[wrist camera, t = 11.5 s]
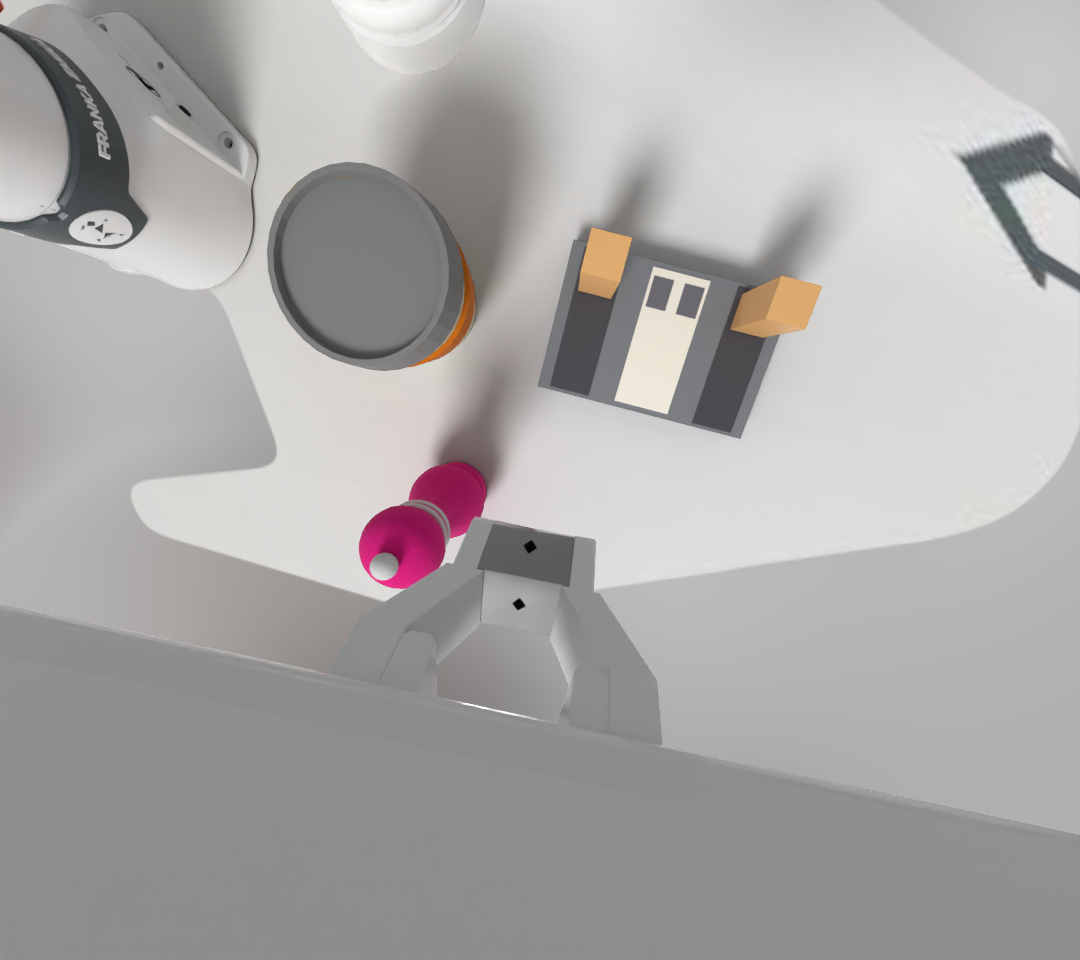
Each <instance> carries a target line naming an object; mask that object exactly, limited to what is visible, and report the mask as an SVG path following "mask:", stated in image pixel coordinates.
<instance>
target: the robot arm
mask: <svg viewBox="0 0 1080 960" xmlns="http://www.w3.org/2000/svg"><path fill="white" fill-rule="evenodd" d="M3 9H4V6H3V4H2V2H1V1H0V12H1V11H2V10H3ZM232 142H233V146H232V147H231V148H230V144H231V143H232ZM256 165H257V157H256V153H255V151H254V149H253V148H252V146H251V145H250V144H249V143H248V142H247V141H246V140H245V138H244V137H243V136H242V135H241V134H240V133H239V132H238V131H237V130H236V129H235V127H234V126H233V125H232V124H231V123H230V122H229V121H228V120H227V119H226V117H225V116H224V115H223V114H222V113H221V112H220V111H219V110H218V109H217V108H216V106H215V105H214V104H213V103H212V102H211V101H210V100H209V99H208V98H207V96H206V95H205V94H204V93H203V92H202V91H201V90H200V89H199V88H198V87H197V85H196V84H195V83H194V82H193V81H192V80H191V79H190V78H189V77H188V75H187V74H186V73H185V72H184V71H183V70H182V69H181V68H180V67H179V66H178V64H177V63H176V62H175V61H174V60H173V59H172V58H171V57H170V56H169V54H168V53H167V52H166V51H165V50H164V49H163V48H162V47H161V46H160V45H159V43H158V42H157V41H156V40H155V39H154V38H153V37H152V36H151V35H150V34H149V32H148V31H147V30H146V29H145V28H144V27H143V26H142V25H141V24H140V23H139V22H138V21H137V20H135V19H134V18H132V17H131V16H129V15H128V14H126V13H123V12H110V13H105V14H101V15H97V16H95V17H92V18H90V19H87V18H86V17H84V16H83V15H81V14H80V13H78V12H76V11H75V10H73V9H71V8H69V7H66V6H63V5H57V4H46V5H42V6H38V7H35V8H33V9H31V10H28V11H27V12H25V13H23V14H22V15H20V16H19V17H18V18H16V19H15V20H14V21H13V22H12V23H11V24H10V25H9V26H8V27H7V26H4V25H1V24H0V228H3V229H7V231H10V232H13V233H16V234H20V235H23V236H25V235H27V236H31V237H34V238H38V239H42V240H46V241H50V242H53V243H56V244H59V245H61V246H64V247H67V248H70V249H73V250H76V251H79V252H81V253H84V254H87V255H90V256H93V257H96V258H99V259H102V260H105V261H106V262H107V264H108V265H109V266H110V267H112V268H113V269H116V270H119V271H121V272H125V273H128V274H142V275H143V274H145V275H149V276H151V277H154V278H156V279H158V280H160V281H163V282H165V283H167V284H169V285H172V286H175V287H179V288H183V289H191V290H198V289H206V288H210V287H213V286H216V285H218V284H220V283H222V282H223V281H225V280H226V279H228V278H229V277H230V276H231V275H232V274H233V273H234V272H235V271H236V270H237V269H238V268H239V266H240V265H241V263H242V261H243V260H244V258H245V256H246V254H247V251H248V248H249V245H250V241H251V237H252V229H253V212H252V202H251V186H252V183H253V179H254V175H255V171H256ZM595 554H596V541H595V540H594V539H588V538H583V537H577V536H575V537H574V536H570V535H565V534H560V533H554V532H549V531H544V530H538V529H533V528H528V527H523V526H519V525H514V524H510V523H505V522H501V521H494V520H489V519H485V518H480V517H476V516H475V518H474V519H473V520H472V521H471V524H470V526H469V528H468V531H467V533H466V535H465V538H464V540H463V542H462V545H461V547H460V549H459V552H458V554H457V556H456V559H455V561H454V563H453V564H450V563H446V564H445V565H443V566H441V567H440V568H438V569H437V570H435V571H434V572H432V573H430V574H429V575H427V576H426V577H424V578H422V579H421V580H419V581H418V582H416V583H414V584H413V585H411V586H410V587H408V588H406V589H405V590H403V591H402V592H400V593H398V594H397V595H395V596H394V597H392V598H390V599H389V600H387V601H386V602H384V603H383V604H381V605H379V606H378V607H376V608H375V609H373V610H371V611H370V612H368V613H367V614H365V615H364V616H362V617H360V619H359V620H358V622H357V624H356V625H355V627H354V628H353V630H352V632H351V634H350V635H349V637H348V639H347V640H346V642H345V644H344V645H343V647H342V649H341V650H340V652H339V654H338V655H337V657H336V659H335V660H334V662H333V664H332V665H331V667H330V669H329V671H328V672H327V673H323V672H319V671H314V670H309V669H305V668H300V667H296V666H291V665H286V664H282V663H277V662H272V661H268V660H263V659H259V658H254V657H249V656H245V655H240V654H235V653H230V652H226V651H221V650H217V649H212V648H207V647H203V646H198V645H194V644H189V643H184V642H180V641H175V640H171V639H166V638H161V637H157V636H152V635H147V634H143V633H138V632H133V631H129V630H124V629H120V628H115V627H110V626H105V625H101V624H97V623H92V622H87V621H82V620H78V619H74V618H68V617H64V616H60V615H55V614H50V613H46V612H41V611H37V610H32V609H27V608H23V607H18V606H13V605H8V604H4V603H0V960H1080V835H1076V834H1072V833H1067V832H1063V831H1058V830H1053V829H1049V828H1044V827H1039V826H1035V825H1030V824H1025V823H1020V822H1016V821H1011V820H1007V819H1002V818H997V817H993V816H988V815H983V814H979V813H974V812H969V811H965V810H960V809H955V808H951V807H946V806H942V805H937V804H932V803H928V802H923V801H918V800H913V799H909V798H904V797H900V796H895V795H891V794H886V793H881V792H877V791H871V790H867V789H862V788H858V787H853V786H849V785H844V784H839V783H835V782H830V781H825V780H821V779H816V778H811V777H807V776H802V775H797V774H793V773H788V772H784V771H779V770H774V769H769V768H765V767H760V766H756V765H751V764H747V763H742V762H737V761H732V760H728V759H723V758H718V757H714V756H709V755H705V754H700V753H695V752H691V751H686V750H682V749H676V748H672V747H667V746H663V745H662V736H661V724H660V711H659V701H658V700H659V699H658V688H657V680H656V678H655V677H654V675H653V674H652V672H651V671H650V669H649V668H648V666H647V665H646V663H645V662H644V660H643V658H642V657H641V655H640V654H639V653H638V651H637V649H636V648H635V647H634V645H633V643H632V642H631V640H630V639H629V637H628V636H627V634H626V633H625V631H624V630H623V628H622V627H621V625H620V624H619V622H618V621H617V619H616V618H615V616H614V614H613V613H612V611H611V610H610V609H609V607H608V605H607V604H606V602H605V601H604V599H603V598H602V596H601V595H600V594H599V593H595V592H594V574H595ZM480 622H481V623H486V624H492V625H498V626H503V627H510V628H514V629H519V630H523V631H527V632H532V633H536V634H540V635H544V636H549V637H550V640H551V643H552V645H553V648H554V650H555V653H556V655H557V658H558V660H559V662H560V665H561V667H562V670H563V672H564V675H565V677H566V680H567V682H568V684H569V688H568V691H567V694H566V697H565V700H564V703H563V706H562V709H561V712H560V715H559V718H558V721H557V723H556V722H551V721H547V720H542V719H537V718H533V717H528V716H524V715H519V714H514V713H510V712H505V711H500V710H496V709H491V708H486V707H482V706H477V705H472V704H468V703H463V702H458V701H453V700H449V699H444V698H440V697H437V679H436V678H437V677H436V665H438V664H439V663H440V662H441V661H442V660H443V659H444V658H445V657H446V656H447V655H448V654H449V653H450V652H451V651H452V650H453V649H454V648H455V647H457V646H458V645H459V644H460V643H461V642H462V641H463V640H464V639H465V638H466V637H467V636H468V635H469V634H470V633H471V632H472V631H474V629H476V628H477V626H479V625H480ZM515 627H516V628H515Z"/></svg>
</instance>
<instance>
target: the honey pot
mask: <svg viewBox="0 0 1080 960" xmlns="http://www.w3.org/2000/svg"><path fill="white" fill-rule="evenodd" d="M484 1H485V0H331V2H332V3H333V5H334V6H335V8H336V9H337V11H338V13H339V14H340V16H341V17H342V19H343V20H344V22H345V24H346V25H347V27H348V28H349V30H350V31H351V33H352V34H353V36H354V37H355V39H356V40H357V42H358V43H359V45H360V46H361V48H362V49H363V50H364V51H365V52H366V53H367V54H369V55H370V56H371V57H372V58H373V59H374V60H375V61H376V62H378V63H379V64H381V65H383V66H385V67H387V68H389V69H391V70H393V71H395V72H401V73H408V74H420V73H426V72H431V71H434V70H436V69H438V68H440V67H442V66H444V65H446V64H447V63H449V62H451V61H452V60H453V59H454V58H455V57H456V56H457V55H458V54H459V53H460V52H461V51H462V50H463V49H464V48H465V47H466V45H467V44H468V42H469V40H470V39H471V37H472V35H473V34H474V32H475V30H476V29H477V26H478V23H479V20H480V16H481V13H482V10H483V7H484Z"/></svg>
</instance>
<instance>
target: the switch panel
mask: <svg viewBox="0 0 1080 960" xmlns="http://www.w3.org/2000/svg"><path fill="white" fill-rule="evenodd" d="M587 244H588V243H585V242H581V241H577V240H574V241H573V245H572V249H571V253H570V257H569V261H568V265H567V269H566V274H565V278H564V282H563V286H562V290H561V294H560V298H559V302H558V306H557V310H556V314H555V319H554V323H553V327H552V331H551V335H550V339H549V343H548V347H547V351H546V355H545V360H544V364H543V368H542V372H541V376H540V380H539V384H538V386H539V387H543V388H547V389H551V390H555V391H559V392H563V393H566V394H570V395H574V396H578V397H582V398H586V399H589V400H593V401H597V402H601V403H605V404H609V405H612V406H616V407H620V408H624V409H628V410H632V411H636V412H639V413H643V414H647V415H651V416H655V417H659V418H662V419H666V420H670V421H674V422H678V423H682V424H685V425H689V426H693V427H697V428H701V429H705V430H709V431H712V432H716V433H720V434H724V435H728V436H732V437H735V438H739V439H740V438H741V436H742V433H743V430H744V428H745V425H746V422H747V420H748V417H749V414H750V412H751V409H752V406H753V404H754V401H755V398H756V396H757V393H758V391H759V388H760V385H761V383H762V380H763V377H764V375H765V372H766V369H767V367H768V364H769V361H770V359H771V356H772V353H773V351H774V348H775V345H776V343H777V340H778V337H779V335H780V334H779V335H774V336H769V337H764V338H762V337H758V336H754V335H750V334H746V333H742V332H738V331H735V330H731V329H730V328H731V325H732V322H733V319H734V316H735V314H736V311H737V308H738V305H739V302H740V299H741V296H742V294H744V293H746V292H748V291H750V290H752V289H754V288H756V287H755V286H751V285H747V284H743V283H740V282H736V281H732V280H728V279H724V278H720V277H716V276H713V275H709V274H705V273H701V272H697V271H693V270H689V269H686V268H682V267H678V266H674V265H670V264H666V263H662V262H659V261H655V260H651V259H647V258H643V257H639V256H635V255H631V254H628V255H627V259H626V262H625V266H624V270H623V273H622V277H621V280H620V283H619V285H618V287H617V289H616V290H615V292H614V294H613V296H612V298H611V299H609V298H605V297H601V296H597V295H593V294H589V293H586V292H582V291H578V289H579V280H580V272H581V268H582V264H583V260H584V256H585V252H586V248H587Z"/></svg>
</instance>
